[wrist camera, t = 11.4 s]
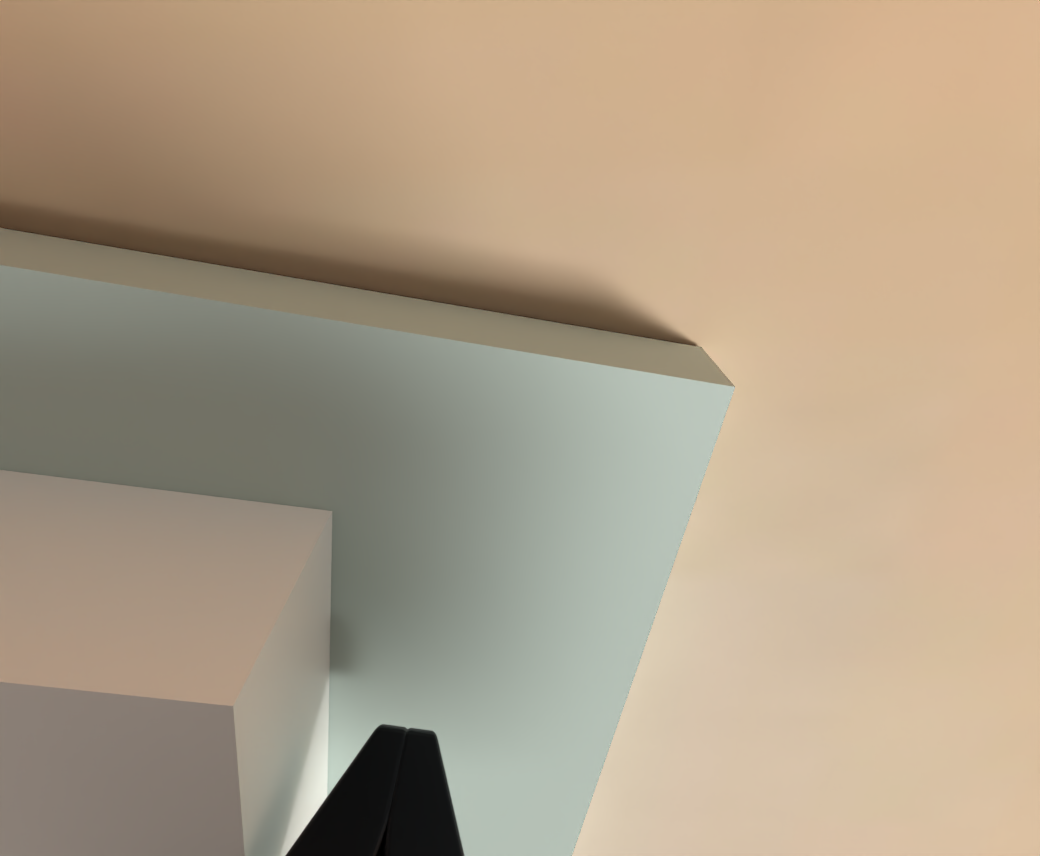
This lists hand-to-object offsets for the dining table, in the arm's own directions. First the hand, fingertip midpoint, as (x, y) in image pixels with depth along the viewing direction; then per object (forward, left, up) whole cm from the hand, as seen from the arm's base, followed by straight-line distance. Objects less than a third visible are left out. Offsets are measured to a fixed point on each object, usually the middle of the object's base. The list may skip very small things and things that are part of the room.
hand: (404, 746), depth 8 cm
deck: (-4, +3, -3) cm, 6 cm away
